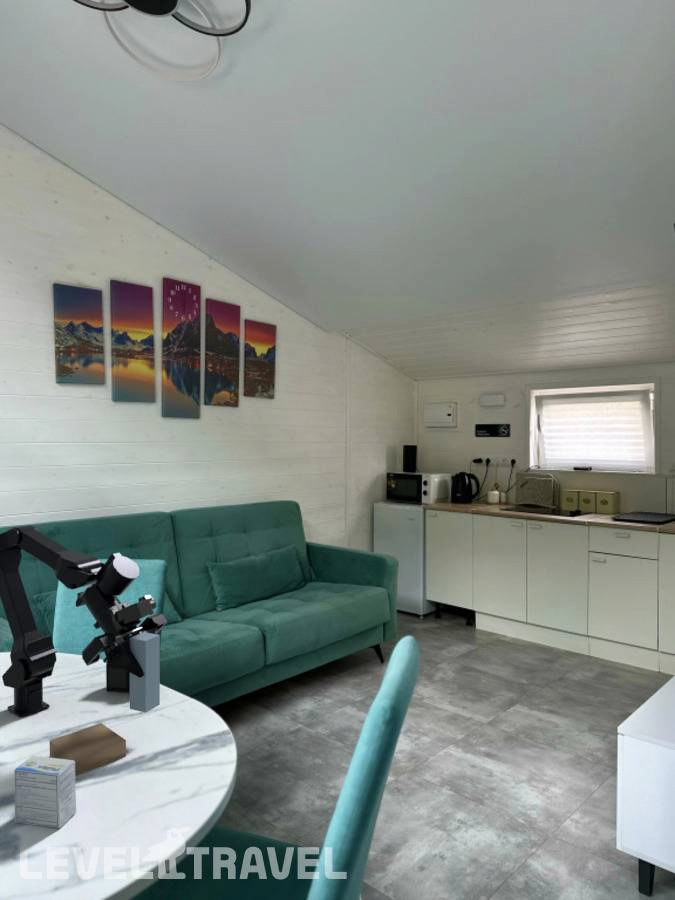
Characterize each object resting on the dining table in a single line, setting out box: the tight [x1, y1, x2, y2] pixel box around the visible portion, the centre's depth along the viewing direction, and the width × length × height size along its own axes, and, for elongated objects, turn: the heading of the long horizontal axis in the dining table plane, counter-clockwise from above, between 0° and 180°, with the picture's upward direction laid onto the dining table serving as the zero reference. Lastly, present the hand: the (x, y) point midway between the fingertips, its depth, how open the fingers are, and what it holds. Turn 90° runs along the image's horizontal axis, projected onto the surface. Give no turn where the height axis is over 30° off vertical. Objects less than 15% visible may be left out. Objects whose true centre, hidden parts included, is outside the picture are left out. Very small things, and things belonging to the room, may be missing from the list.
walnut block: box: [49, 722, 127, 777], centre depth 119 cm, size 10×10×3 cm
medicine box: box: [13, 755, 77, 829], centre depth 99 cm, size 8×4×9 cm, turn 79°
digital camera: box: [105, 662, 130, 694], centre depth 149 cm, size 10×5×7 cm, turn 81°
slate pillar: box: [129, 632, 161, 714], centre depth 125 cm, size 4×4×14 cm
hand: (150, 672), depth 124 cm, fingers closed on slate pillar, 4 cm apart
